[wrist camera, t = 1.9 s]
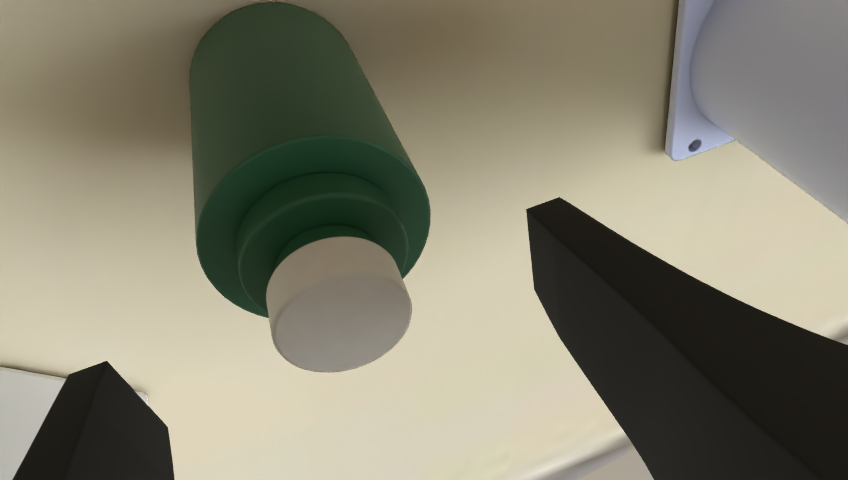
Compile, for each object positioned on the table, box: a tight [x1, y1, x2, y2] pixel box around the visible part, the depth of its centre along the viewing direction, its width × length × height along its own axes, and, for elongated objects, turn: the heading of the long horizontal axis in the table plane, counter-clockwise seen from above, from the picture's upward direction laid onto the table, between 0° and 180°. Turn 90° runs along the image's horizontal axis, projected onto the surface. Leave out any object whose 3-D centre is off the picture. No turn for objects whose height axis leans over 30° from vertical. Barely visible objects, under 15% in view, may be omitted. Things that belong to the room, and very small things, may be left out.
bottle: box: [189, 3, 430, 372], centre depth 14 cm, size 5×5×9 cm
